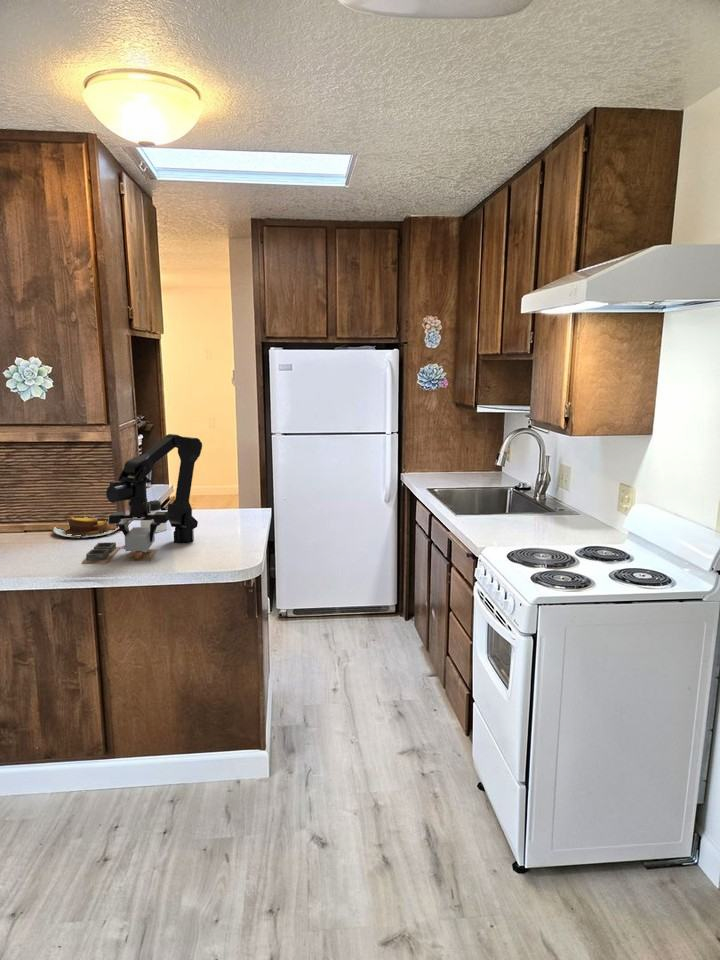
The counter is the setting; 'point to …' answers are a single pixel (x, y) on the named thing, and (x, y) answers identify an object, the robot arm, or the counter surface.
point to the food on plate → (85, 527)
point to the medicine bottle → (154, 508)
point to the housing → (138, 539)
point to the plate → (145, 557)
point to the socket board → (101, 553)
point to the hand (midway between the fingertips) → (140, 542)
